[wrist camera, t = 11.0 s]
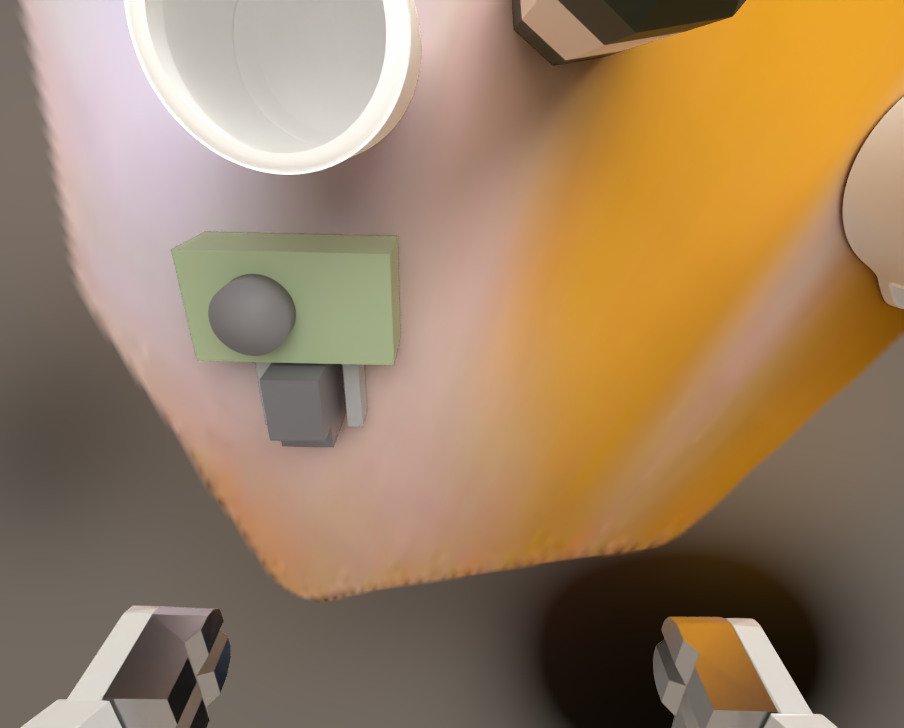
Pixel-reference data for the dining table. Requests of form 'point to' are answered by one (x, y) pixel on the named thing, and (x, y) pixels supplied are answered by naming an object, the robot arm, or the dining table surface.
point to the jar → (280, 74)
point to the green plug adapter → (294, 302)
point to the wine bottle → (609, 24)
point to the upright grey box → (303, 403)
